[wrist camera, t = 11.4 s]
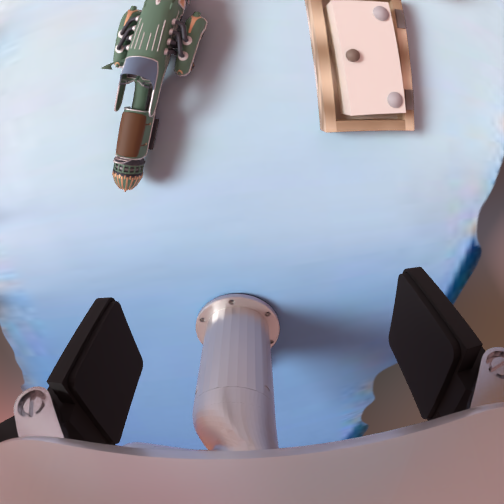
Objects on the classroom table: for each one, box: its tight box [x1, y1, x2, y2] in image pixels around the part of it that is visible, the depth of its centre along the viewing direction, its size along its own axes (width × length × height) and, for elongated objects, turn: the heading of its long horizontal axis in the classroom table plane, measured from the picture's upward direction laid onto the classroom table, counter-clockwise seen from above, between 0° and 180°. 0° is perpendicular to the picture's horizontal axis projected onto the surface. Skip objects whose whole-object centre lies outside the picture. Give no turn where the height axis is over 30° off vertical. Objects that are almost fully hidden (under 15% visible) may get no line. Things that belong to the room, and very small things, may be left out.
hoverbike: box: [101, 0, 208, 192], centre depth 29 cm, size 10×25×8 cm, turn 165°
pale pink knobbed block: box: [323, 0, 406, 116], centre depth 28 cm, size 13×6×4 cm, turn 10°
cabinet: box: [305, 0, 414, 132], centre depth 29 cm, size 17×11×3 cm, turn 7°
